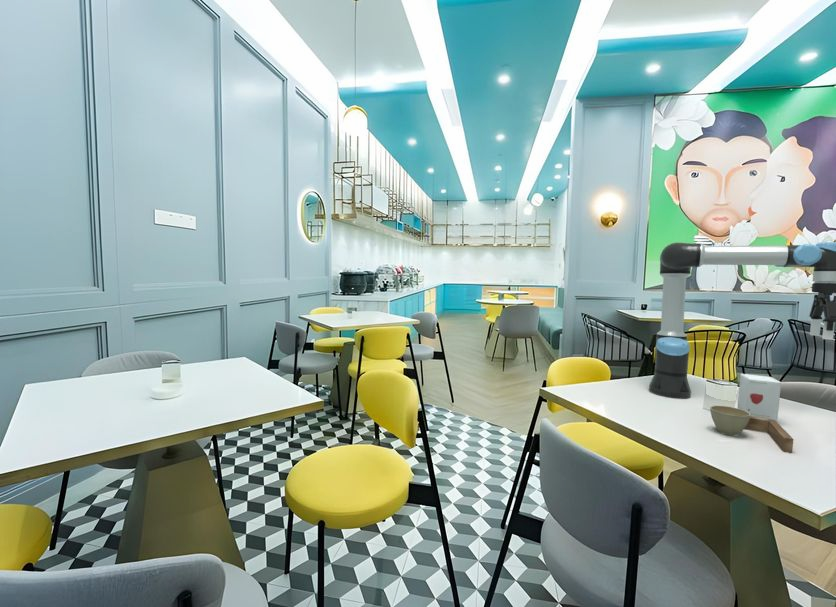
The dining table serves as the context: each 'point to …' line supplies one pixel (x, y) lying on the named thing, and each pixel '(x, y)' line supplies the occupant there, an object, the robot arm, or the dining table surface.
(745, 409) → the supplement box
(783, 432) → the l-shaped wooden block
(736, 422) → the flower pot
